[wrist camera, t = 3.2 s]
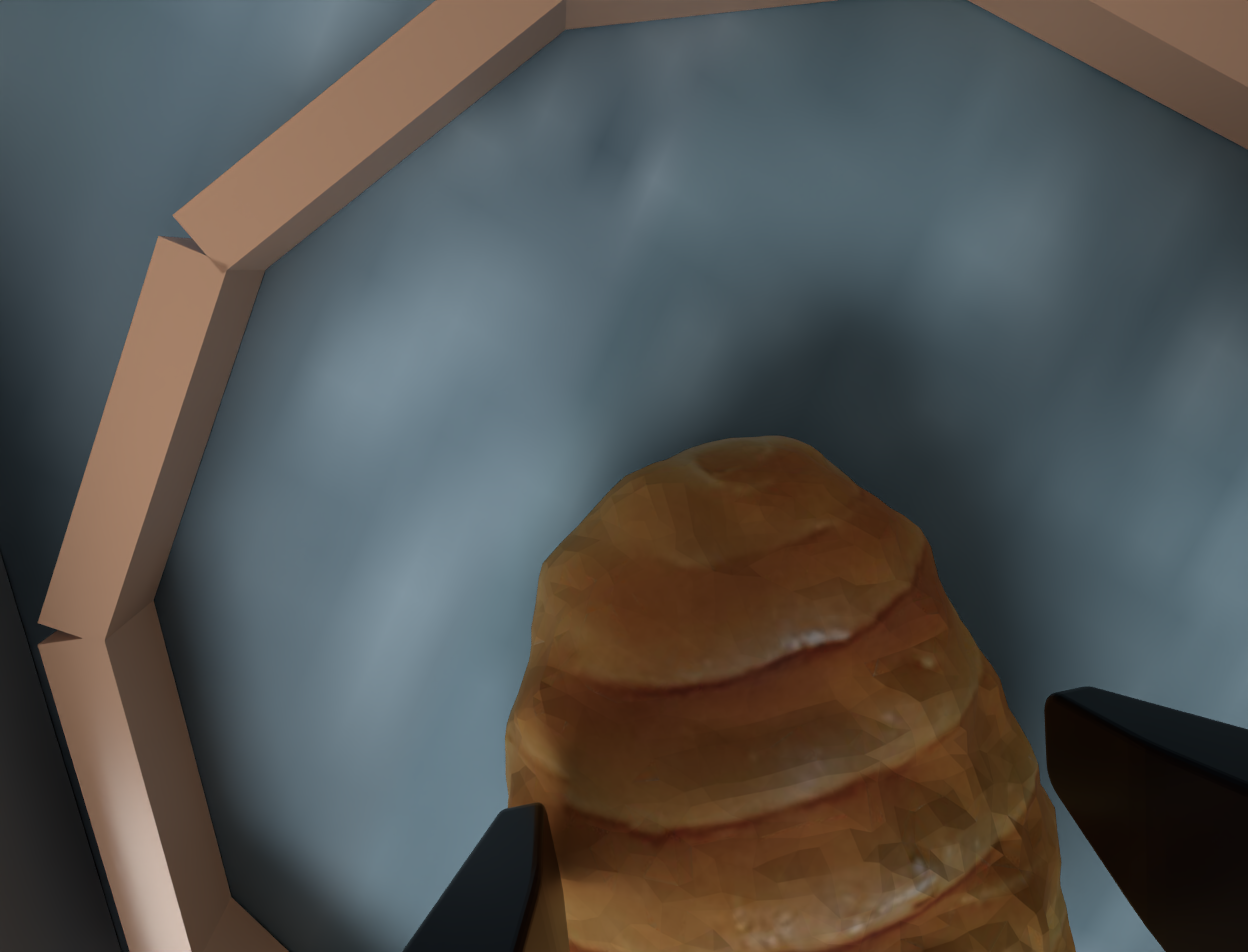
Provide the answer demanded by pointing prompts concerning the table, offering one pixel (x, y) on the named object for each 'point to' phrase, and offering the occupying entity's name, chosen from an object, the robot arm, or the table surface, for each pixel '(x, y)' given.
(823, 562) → the pastry
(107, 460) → the socket ring
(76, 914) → the bin
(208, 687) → the table surface
